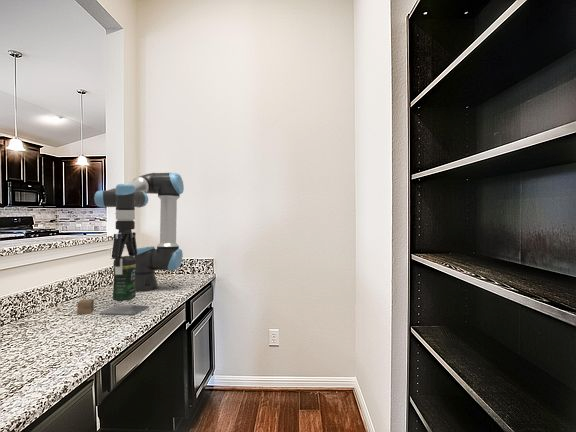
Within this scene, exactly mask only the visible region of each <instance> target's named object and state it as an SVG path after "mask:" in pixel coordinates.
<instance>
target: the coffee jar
mask: <svg viewBox="0 0 576 432" xmlns="http://www.w3.org/2000/svg"><path fill="white" fill-rule="evenodd" d="M121 259H122V275H116V274H115V259H113V264H112V265H113V266H112V268H113V287H112V288H113V289H112V300H113V301H114V302H120V303H121V302H125V301H126V302H128V301H131V300H133V299H135V298H136V295H137V294H136V292H137V291H136V287H135V268H136V258H134V257H133V256H129V255H124V256H123V255H122V256H121Z"/></svg>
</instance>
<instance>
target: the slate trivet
mask: <svg viewBox="0 0 576 432" xmlns="http://www.w3.org/2000/svg"><path fill="white" fill-rule="evenodd" d="M149 307H150V306H149V305H118V304H116V305H114V306H112V307H109V308H108V309H105V310H103V311H100V312H99V314H105V315H106V316H107V315H109V316H136V315H139V313H141V312H143V311H145V310H147V309H149Z"/></svg>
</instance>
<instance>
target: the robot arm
mask: <svg viewBox="0 0 576 432" xmlns="http://www.w3.org/2000/svg"><path fill="white" fill-rule="evenodd" d="M184 189H185V187H184V181H183V179H182V176H181V175H180V174H179V173H177V172H151V173H145V174H143V175H140V176H137V177H134V178H133V179H132V181H129V182H127V183H118V184H116V185H115V187H114V188H111V189H108V190H104V189H103V190H97V191H96V192H95V193H94V197H93V200H94V204H95V205H96V206H97V207H100V208H115V213H114V215H115V230H118V232H117V233H114V234H113V245H112V252H111V258H112V259H113V260H115V274H116V275H122V259H121V257H123V252H124V248H126V250H127V252H128V256H133V257H134V258H136V268H135V287H136V292H146V291H147V292H149V291H153V290H157V289H158V288H159V283H158V280H157V277H156V275H155V272H156V271H168V272H169V271H176V270H178V269H179V268H180V267H181V264H182V262H183V257H184V256H183V254H184V253H183V250H182V249H181V248H180V245H179V244H178V243H177V219H178V217H177V216H178V215H177V211H178V210H177V209H178V208H177V206H178V205H177V204H178V203H177V202H178V199H180V195H182V194H183V193H184ZM147 194H150V195H151V194H156V195H157V197H158V199H159V200H160V220H159V223H160V225H159V228H160V229H159V243H158V244H157V245H156V247H155V246H145V247H144V246H143V247H138V248H137V241H136V235H137V233H136V232H133V231H132V230H135V227H136V223H135V222H136V221H135V219H136V217H135V216H136V215H135V214H136V212H135V211H136V208H143V207H145V206H147V204H148V203H149V197H148V195H147ZM125 246H126V247H125Z"/></svg>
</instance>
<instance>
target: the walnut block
mask: <svg viewBox="0 0 576 432" xmlns="http://www.w3.org/2000/svg"><path fill="white" fill-rule="evenodd" d="M76 309H77V310H76V311H77V312H76V313H77V315H78V316H79V315H90V313H91V314H93V312H94V311H95V310H94V309H95V301H94V298H93V299H92V298H91V299H80V300H79V301H77V308H76Z"/></svg>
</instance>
